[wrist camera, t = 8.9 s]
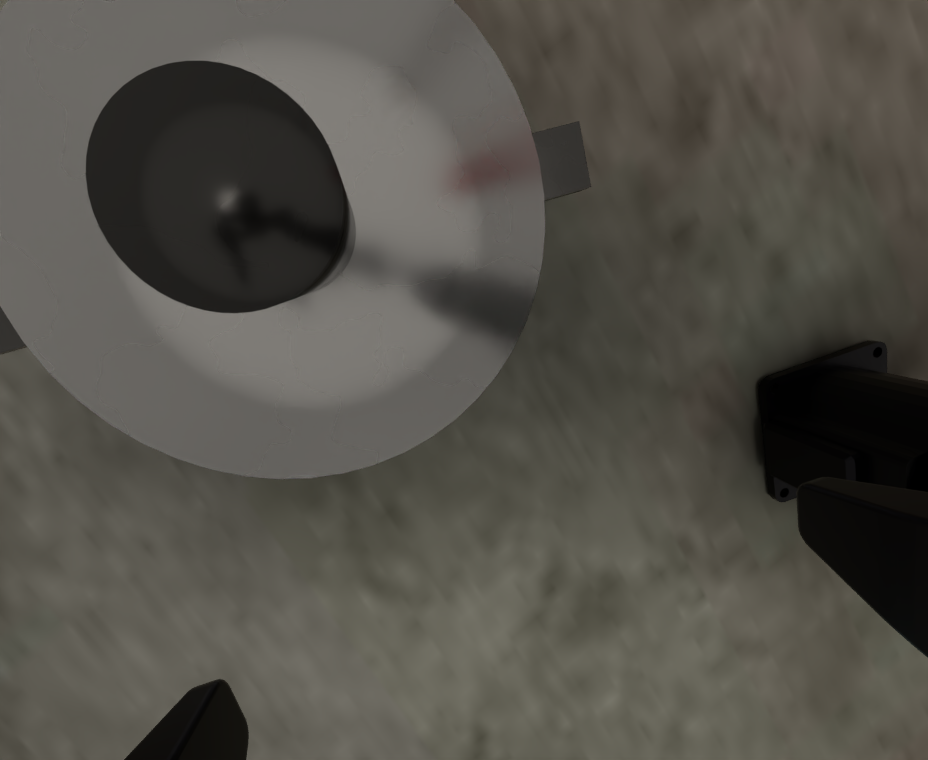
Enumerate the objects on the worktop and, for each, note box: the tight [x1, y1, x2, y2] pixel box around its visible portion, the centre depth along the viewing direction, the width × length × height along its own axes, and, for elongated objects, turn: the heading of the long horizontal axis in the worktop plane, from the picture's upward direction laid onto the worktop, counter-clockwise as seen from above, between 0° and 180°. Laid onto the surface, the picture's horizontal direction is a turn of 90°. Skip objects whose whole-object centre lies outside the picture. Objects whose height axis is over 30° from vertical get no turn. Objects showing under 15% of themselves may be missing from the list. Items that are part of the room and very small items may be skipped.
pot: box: [0, 121, 591, 354], centre depth 14 cm, size 17×12×5 cm
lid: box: [0, 0, 545, 479], centre depth 9 cm, size 13×13×6 cm
